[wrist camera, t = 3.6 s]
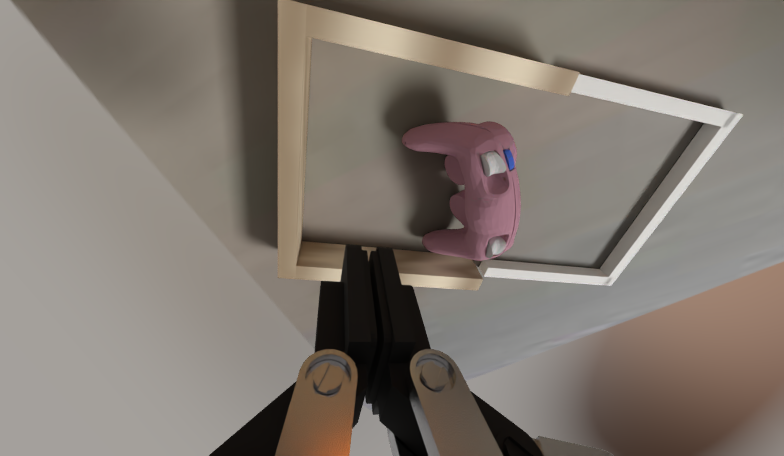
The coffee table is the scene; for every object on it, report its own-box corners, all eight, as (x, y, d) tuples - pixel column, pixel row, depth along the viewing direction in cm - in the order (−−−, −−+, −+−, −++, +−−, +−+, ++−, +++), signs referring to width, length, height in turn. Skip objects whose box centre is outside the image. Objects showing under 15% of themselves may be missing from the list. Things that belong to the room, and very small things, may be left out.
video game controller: (458, 223, 26) (531, 259, 21) (418, 248, 24) (485, 294, 19) (446, 106, 21) (539, 115, 15) (392, 128, 19) (476, 147, 14)
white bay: (725, 111, 22) (743, 114, 21) (602, 277, 30) (611, 285, 29) (566, 72, 19) (578, 73, 18) (478, 267, 27) (483, 276, 26)
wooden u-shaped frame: (548, 67, 18) (580, 72, 16) (465, 266, 27) (477, 290, 24) (289, 3, 15) (277, -3, 13) (285, 252, 23) (277, 277, 21)
